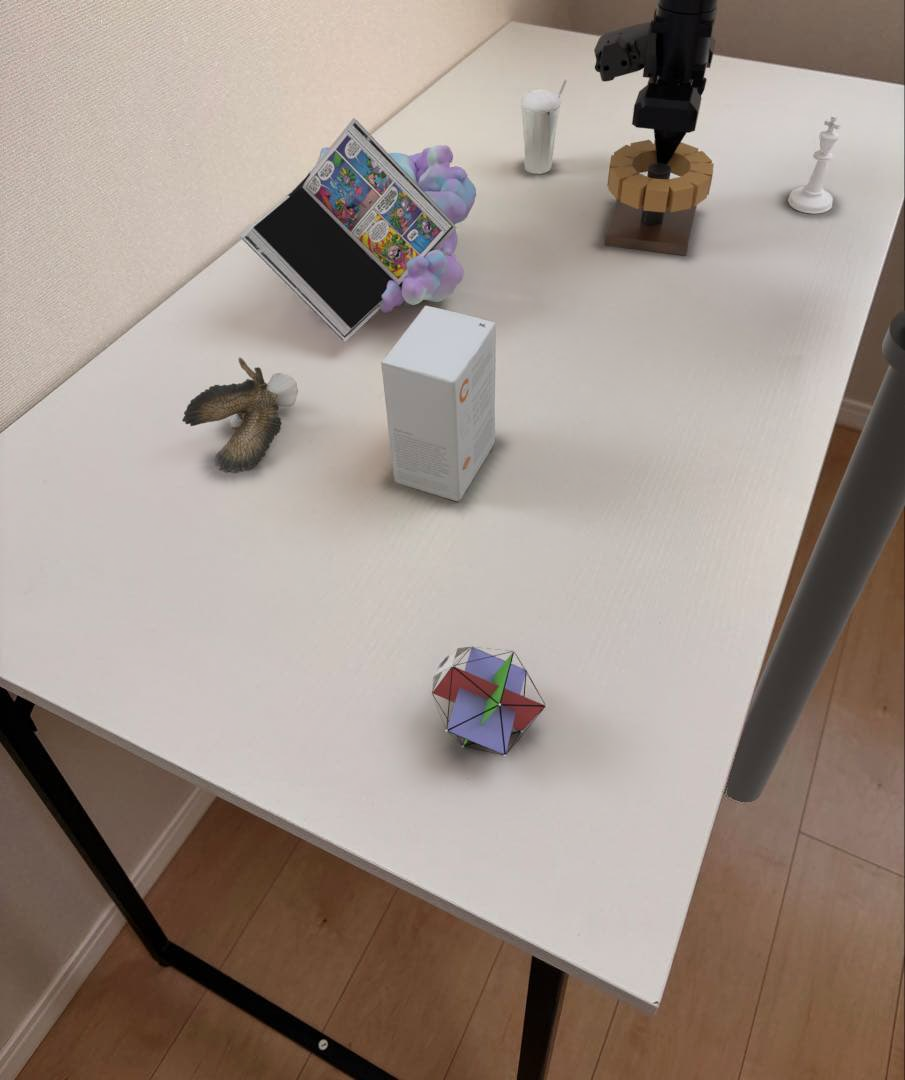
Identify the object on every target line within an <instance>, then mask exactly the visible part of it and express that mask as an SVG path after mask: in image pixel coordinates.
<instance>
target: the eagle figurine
mask: <svg viewBox="0 0 905 1080" xmlns="http://www.w3.org/2000/svg"><path fill="white" fill-rule="evenodd" d="M238 364H239V366H240V368H241V369H242V370H244V371H245V373H246V375H248V377H249V378H251V379H249V378H247V379H245V380H244V381H243V382H241V383H230V384H223V385H219V384H214V385H213V386H212V385H211V386H209V388H208V389H207V388H206V389H204V391H201V392H200V393H199V394H198V395H196V396H195V397H194V398H192V399H191V400H190V401H189V403H188V405H186V410H184V412H183V415H184V416H183V417H182V423H184V424H185V425H189V426H190V427H194V426H198V425H202V424H206V423H213V422H219V421H221V420H222V421H223V420H225V419H228V418H229V417H231V416H233V417H232V418H231V419H230V421H229V423H230V429H233V428H235V429H236V428H237V430H236V431H235V432H234V433H233V435H232V436H231V438H230V439H229V440H228V442H227V443H226V444H224V446H223V447H221V449H219V451H218V452H217V453H216V454H215V455H214V459H215V460H216V463H215V464H216V465H218V468H219V470H220V471H224V472H225V473H228V472H239V471H240V469H241V470H242V471H245V470H247V469H248V468H249V469H250V468H253V467H254V466H256V465H257V464H258V463H259V462H261V461H262V460H263V458H264V457H265V456H266V452H268V450H269V449H270V445H271V443H273V440H274V439H275V437H276V436H278V434H280V431H281V428H282V427H281V426H282V419H281V417H279V413H278V412H277V411H279V410H280V407H286V408H289V407H293V406H294V405H295V403H296V401H297V396H298V393H299V389H298V383H297V381H296V380H295V379H294V378H293V377H292V376H290V375H288V374H286V373H282V372H277V373H274V374H272V376H271V377H270V379H269V381H268V383H267V382H266V381H265V378H264V376H263V372H262V368H261V367H259V366H257V367H254V370H253V369H252V368H251V367H250V366H248V364H247V363H246V361H245V360H244V359H243V358H242V357H238Z"/></svg>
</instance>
